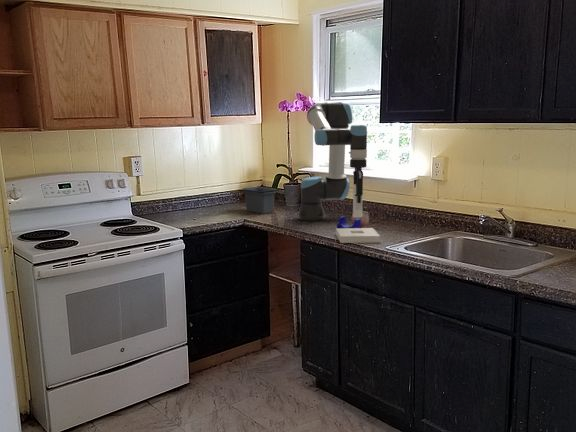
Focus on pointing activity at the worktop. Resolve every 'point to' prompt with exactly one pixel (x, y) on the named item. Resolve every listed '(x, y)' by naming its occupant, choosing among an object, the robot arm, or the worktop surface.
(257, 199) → the storage bin
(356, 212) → the tube
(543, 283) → the worktop surface
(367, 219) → the decorative fruit
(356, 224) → the blue shoe
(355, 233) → the socket block
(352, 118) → the robot arm
